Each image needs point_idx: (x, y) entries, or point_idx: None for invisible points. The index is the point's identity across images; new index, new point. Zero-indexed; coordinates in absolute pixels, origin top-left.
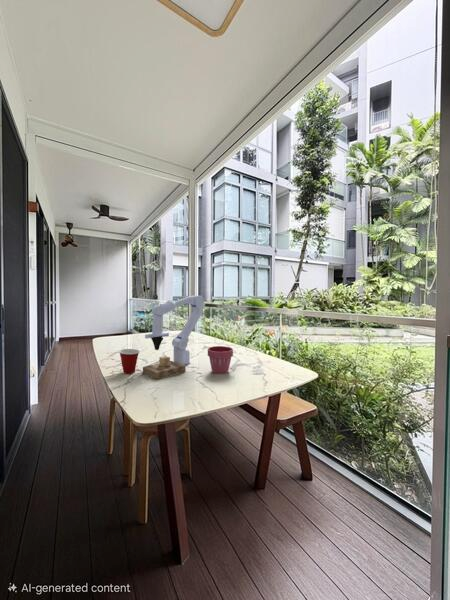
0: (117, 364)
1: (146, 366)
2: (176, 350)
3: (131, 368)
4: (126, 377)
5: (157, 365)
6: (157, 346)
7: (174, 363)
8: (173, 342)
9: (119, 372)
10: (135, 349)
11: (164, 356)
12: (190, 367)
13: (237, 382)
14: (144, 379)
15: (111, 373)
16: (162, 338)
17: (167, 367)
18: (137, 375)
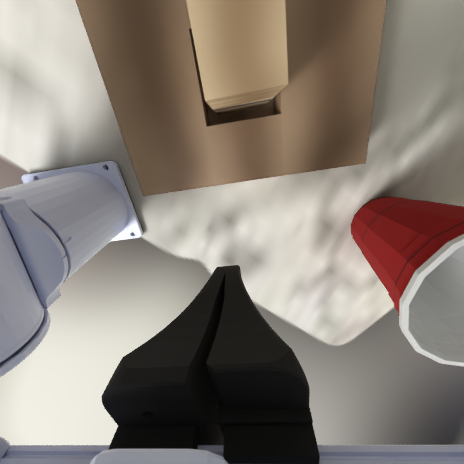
0: (341, 343)
1: (342, 158)
2: (44, 224)
3: (408, 200)
4: (450, 140)
5: (271, 134)
6: (234, 283)
7: (139, 105)
8: (7, 336)
9: None
10: (411, 333)
11: (227, 80)
12: (38, 87)
13: None
14: (417, 10)
15: None
16: (129, 371)
17: None
18: (387, 138)
